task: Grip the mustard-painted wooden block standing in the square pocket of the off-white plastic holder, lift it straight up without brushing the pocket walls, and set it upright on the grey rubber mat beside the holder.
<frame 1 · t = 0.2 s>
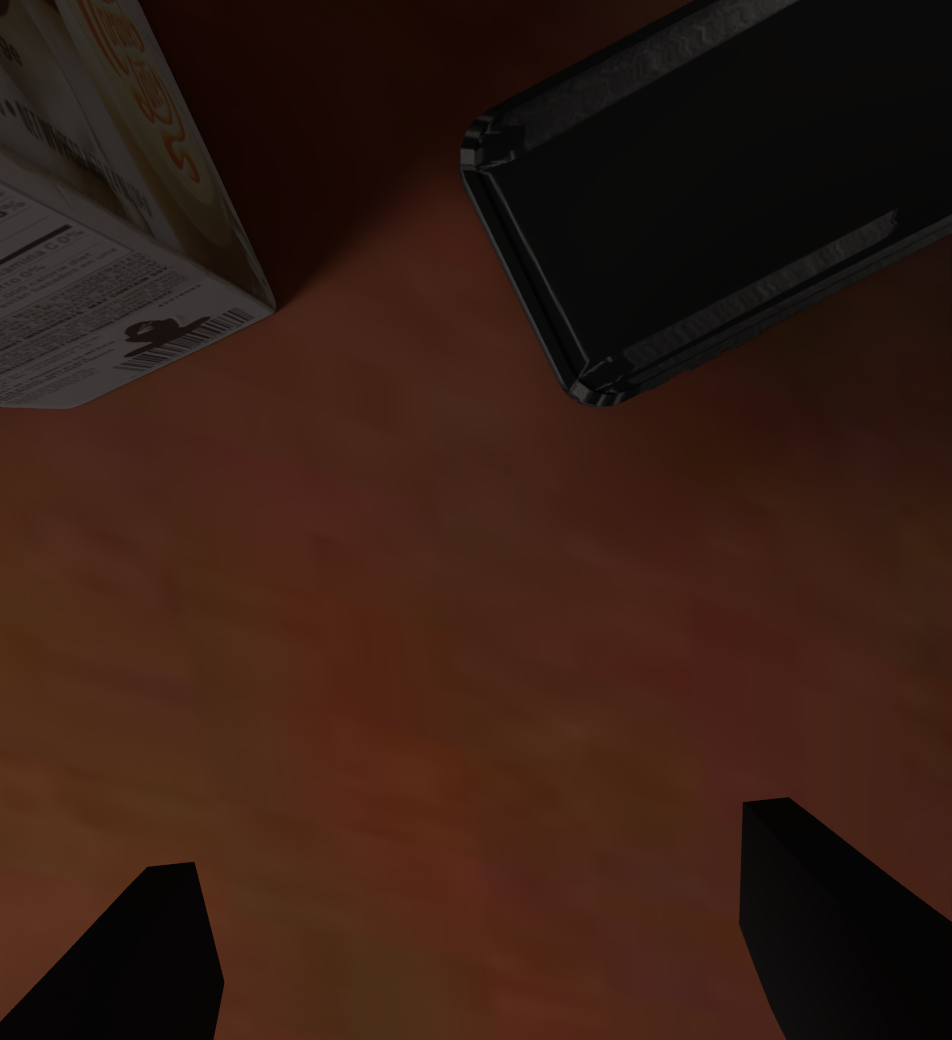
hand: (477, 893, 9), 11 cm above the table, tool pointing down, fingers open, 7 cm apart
phone: (765, 161, 19), on the table
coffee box: (99, 200, 18), on the table
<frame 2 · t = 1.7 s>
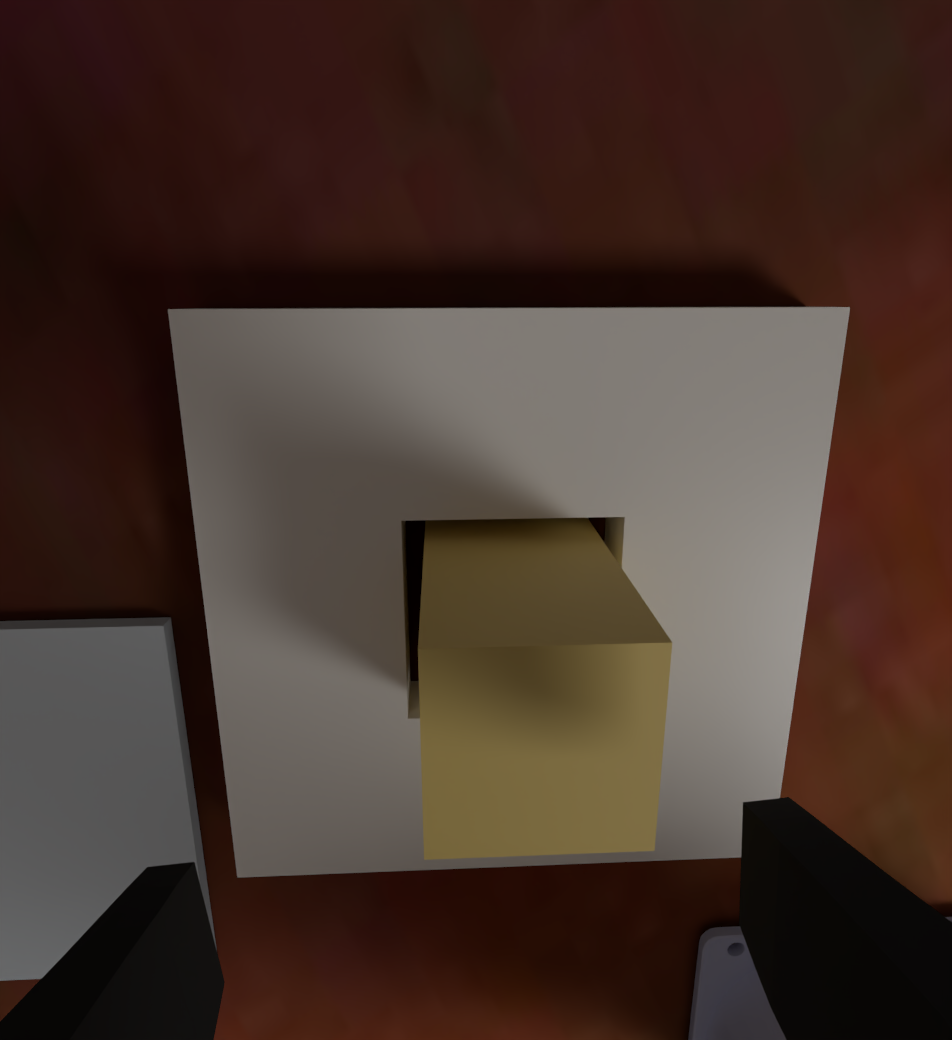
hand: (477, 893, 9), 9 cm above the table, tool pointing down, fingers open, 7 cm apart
pocket holder: (505, 591, 18), on the table
block: (505, 590, 18), resting in pocket holder
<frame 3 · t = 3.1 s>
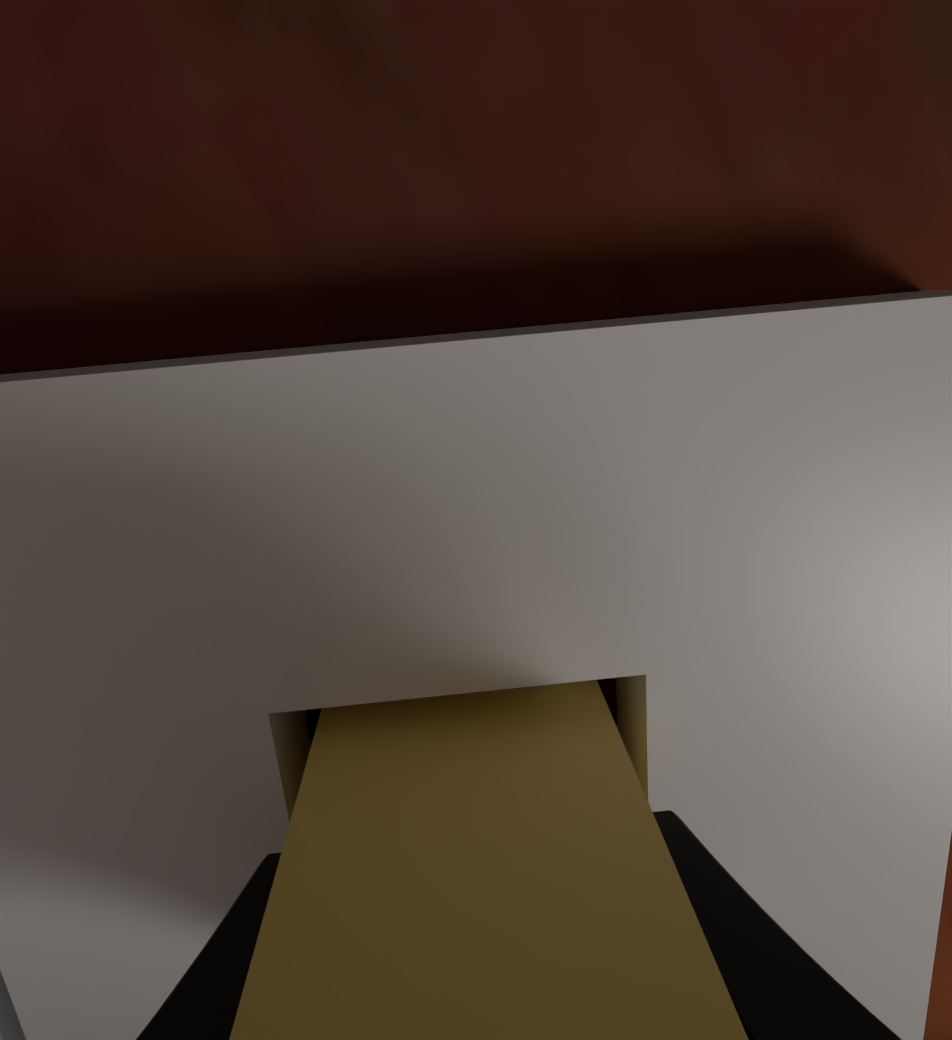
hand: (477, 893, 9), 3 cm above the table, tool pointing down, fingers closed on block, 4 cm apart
pocket holder: (469, 769, 12), on the table
block: (469, 768, 12), resting in pocket holder, touching gripper
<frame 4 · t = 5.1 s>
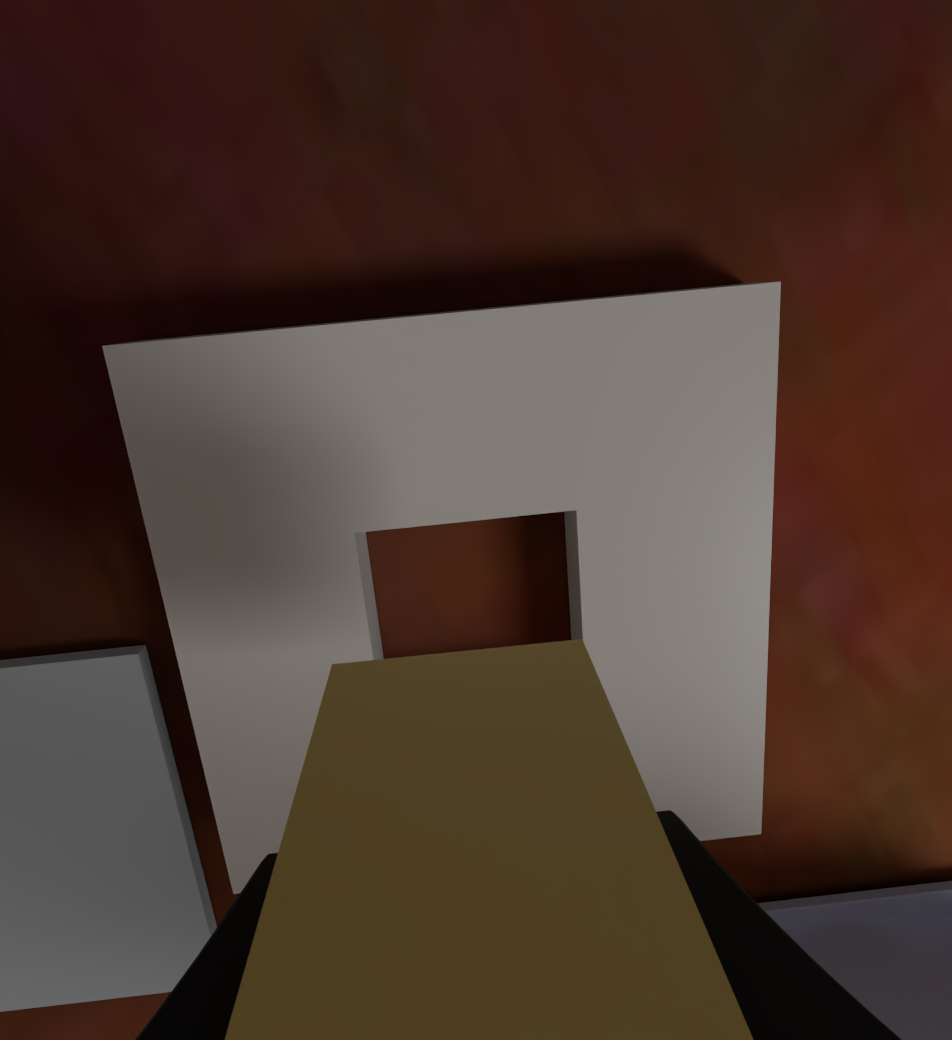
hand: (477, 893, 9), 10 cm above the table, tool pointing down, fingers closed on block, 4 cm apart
pocket holder: (472, 592, 19), on the table
block: (468, 758, 12), point 7 cm above the table, touching gripper
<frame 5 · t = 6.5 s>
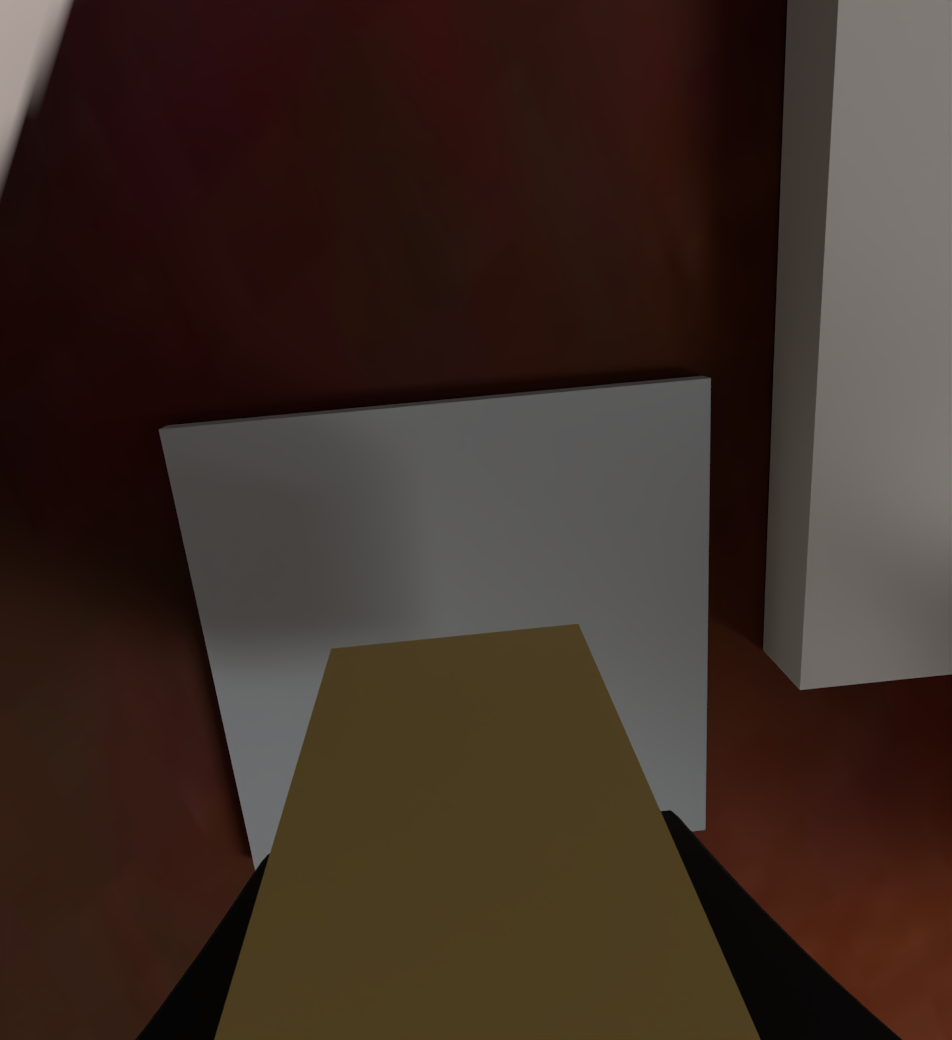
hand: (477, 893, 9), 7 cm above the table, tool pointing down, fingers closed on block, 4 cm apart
mat: (461, 641, 16), on the table
block: (466, 742, 12), point 4 cm above the table, touching gripper
when the fingers open (4 cm above the table, at t = 7.4 s): block stays where it is, resting on mat.
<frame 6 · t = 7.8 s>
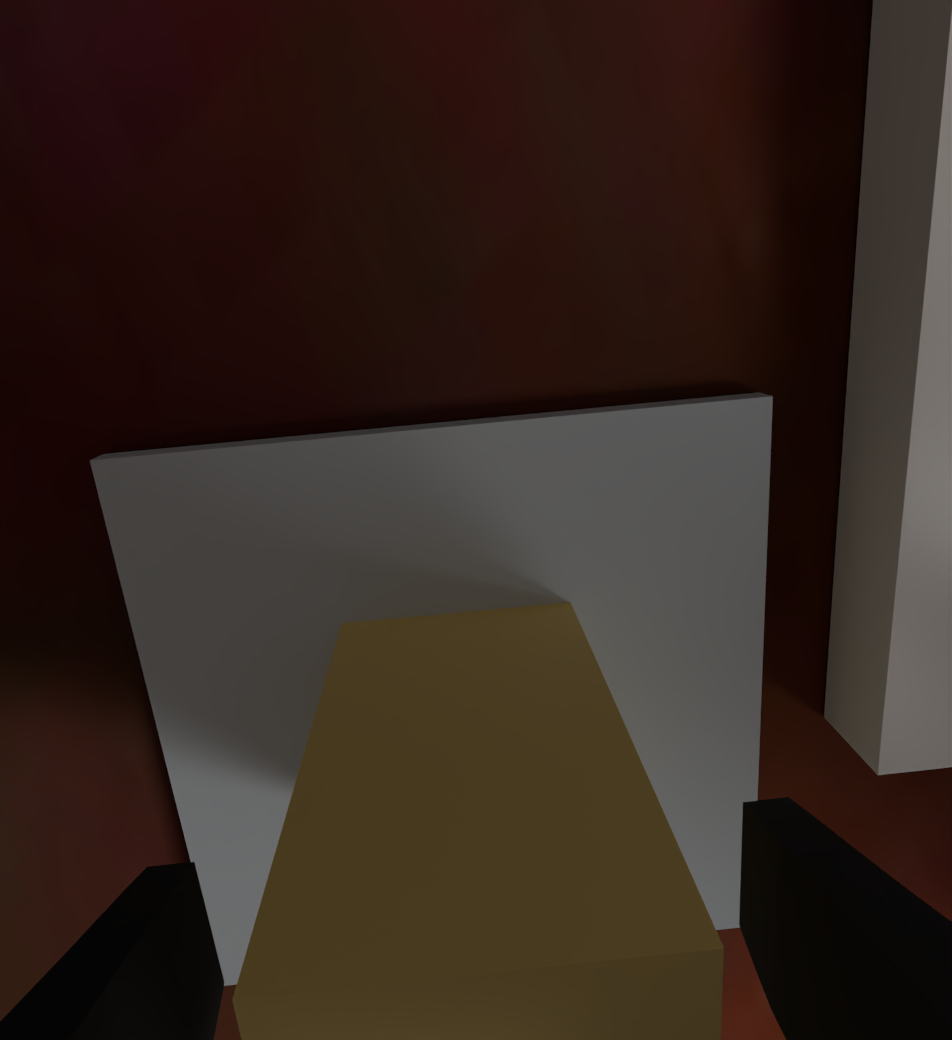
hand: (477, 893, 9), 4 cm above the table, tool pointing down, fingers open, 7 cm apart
mat: (464, 709, 14), on the table
block: (465, 712, 13), resting on mat
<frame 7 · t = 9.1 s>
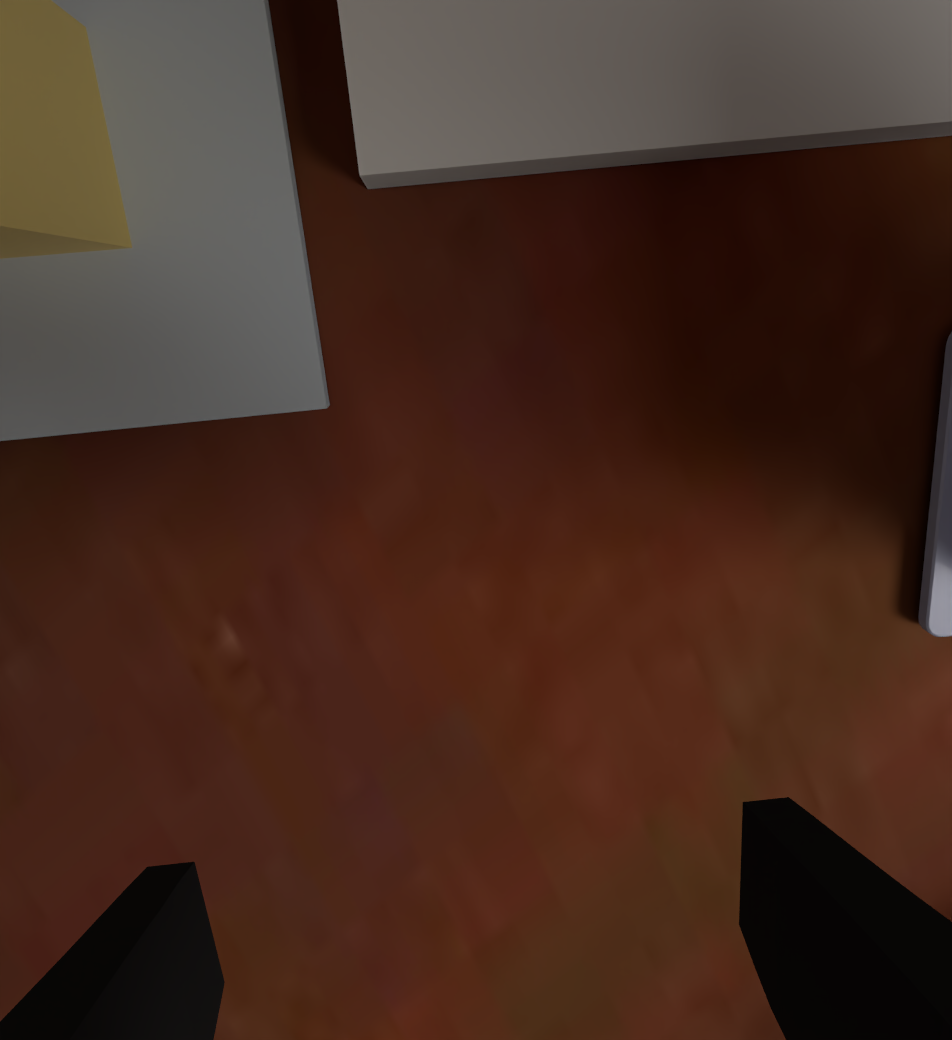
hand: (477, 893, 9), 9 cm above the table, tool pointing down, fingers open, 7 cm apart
mat: (25, 167, 15), on the table
block: (9, 149, 14), resting on mat
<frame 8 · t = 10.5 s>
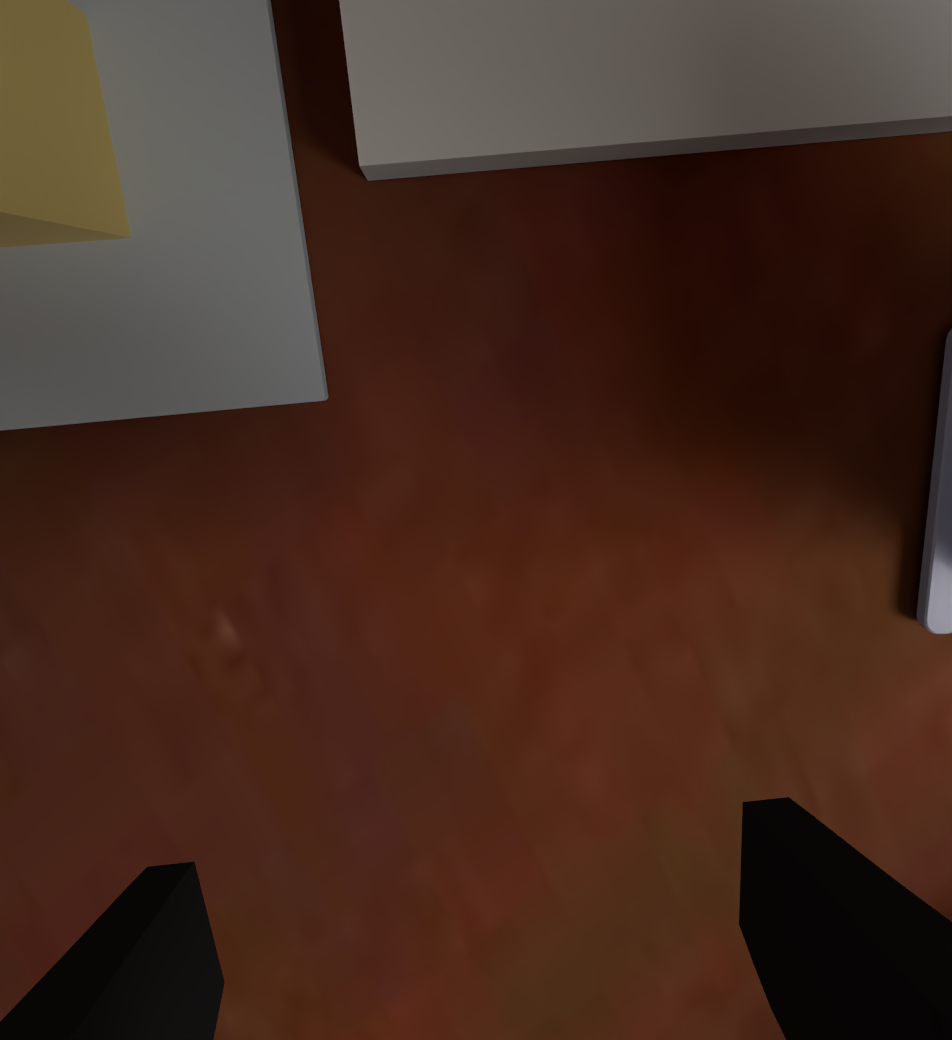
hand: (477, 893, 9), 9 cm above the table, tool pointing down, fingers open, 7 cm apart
mat: (25, 156, 15), on the table
block: (8, 138, 14), resting on mat
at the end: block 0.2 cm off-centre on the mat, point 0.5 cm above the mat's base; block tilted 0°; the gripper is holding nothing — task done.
